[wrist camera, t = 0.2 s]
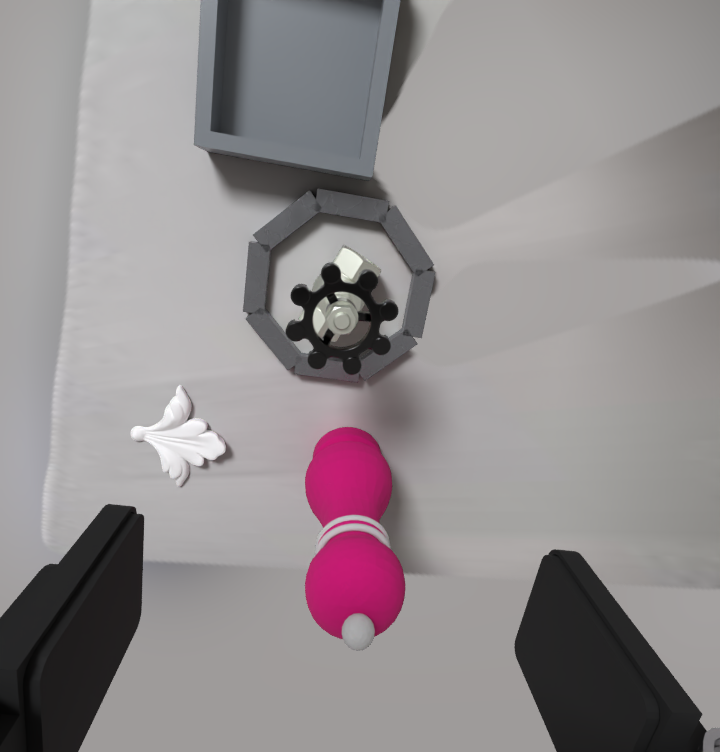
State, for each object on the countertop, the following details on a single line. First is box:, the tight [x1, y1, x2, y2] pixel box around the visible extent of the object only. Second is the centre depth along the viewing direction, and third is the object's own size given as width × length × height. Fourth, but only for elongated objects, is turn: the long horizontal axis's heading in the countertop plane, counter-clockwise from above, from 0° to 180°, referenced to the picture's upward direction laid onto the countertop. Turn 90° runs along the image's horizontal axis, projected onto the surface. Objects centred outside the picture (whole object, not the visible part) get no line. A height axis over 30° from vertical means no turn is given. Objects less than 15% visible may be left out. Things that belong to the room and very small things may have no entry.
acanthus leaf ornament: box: [131, 385, 226, 487], centre depth 41 cm, size 8×7×2 cm
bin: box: [194, 0, 400, 181], centre depth 31 cm, size 13×12×4 cm
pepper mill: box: [305, 427, 405, 651], centre depth 34 cm, size 7×7×20 cm
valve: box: [286, 245, 398, 375], centre depth 33 cm, size 7×7×12 cm
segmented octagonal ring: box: [243, 188, 435, 382], centre depth 38 cm, size 15×15×1 cm
